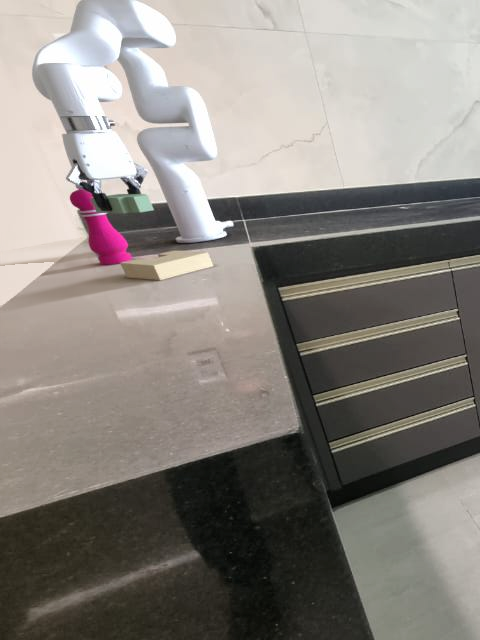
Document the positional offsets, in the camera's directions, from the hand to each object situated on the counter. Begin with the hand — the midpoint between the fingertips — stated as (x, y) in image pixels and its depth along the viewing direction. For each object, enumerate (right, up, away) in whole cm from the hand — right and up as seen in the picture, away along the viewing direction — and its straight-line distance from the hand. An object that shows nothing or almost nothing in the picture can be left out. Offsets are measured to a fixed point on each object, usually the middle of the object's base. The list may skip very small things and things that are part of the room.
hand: (123, 207), depth 126 cm
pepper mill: (-15, -11, +13) cm, 23 cm away
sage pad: (+2, -1, 0) cm, 2 cm away
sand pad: (+10, -15, +1) cm, 18 cm away
